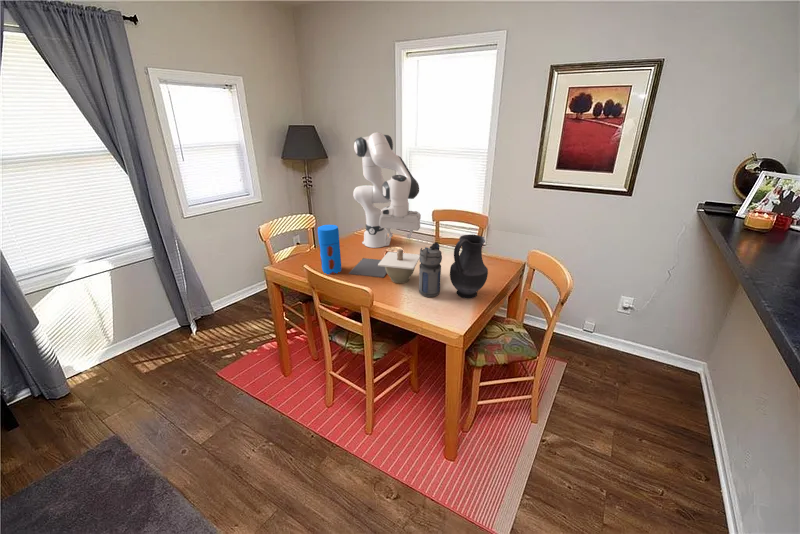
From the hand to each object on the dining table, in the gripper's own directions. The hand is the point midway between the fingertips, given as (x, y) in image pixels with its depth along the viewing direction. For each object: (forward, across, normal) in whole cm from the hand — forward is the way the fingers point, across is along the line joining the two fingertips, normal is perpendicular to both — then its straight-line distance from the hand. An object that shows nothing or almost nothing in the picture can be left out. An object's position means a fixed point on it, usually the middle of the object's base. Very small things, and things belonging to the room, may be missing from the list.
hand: (399, 237), depth 172 cm
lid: (+13, 0, 0) cm, 13 cm away
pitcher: (+23, -35, +9) cm, 43 cm away
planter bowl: (+24, 0, 0) cm, 24 cm away
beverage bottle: (+24, -18, +10) cm, 31 cm away
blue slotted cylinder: (+24, +40, -2) cm, 47 cm away
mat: (+24, +19, -10) cm, 32 cm away
